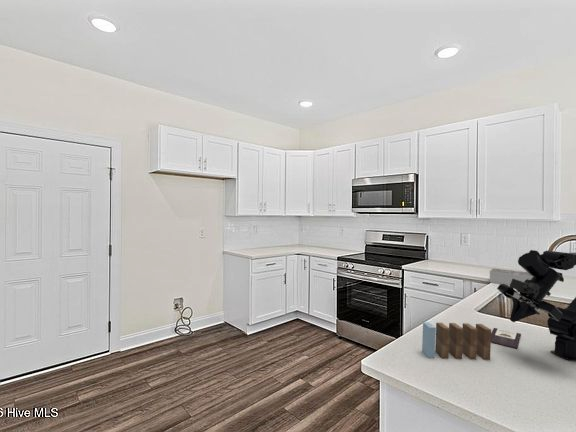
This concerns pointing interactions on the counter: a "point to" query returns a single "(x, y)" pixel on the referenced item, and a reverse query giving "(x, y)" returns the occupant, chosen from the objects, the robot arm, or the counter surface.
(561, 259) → the robot arm
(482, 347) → the domino
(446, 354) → the domino
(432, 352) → the domino
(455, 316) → the counter surface
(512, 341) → the chocolate bar
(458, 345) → the domino
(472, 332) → the domino
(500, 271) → the gray rectangular block
